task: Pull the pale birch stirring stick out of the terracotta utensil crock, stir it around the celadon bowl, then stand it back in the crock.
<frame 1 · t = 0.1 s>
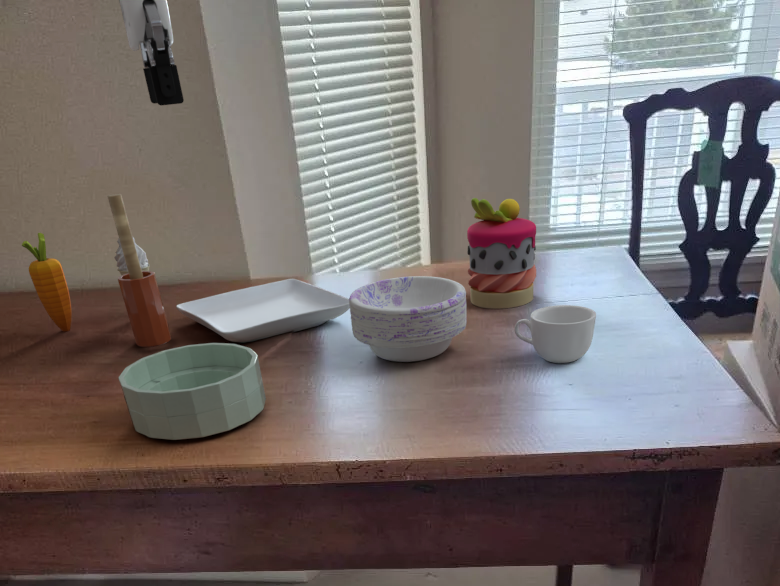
hand: (167, 103, 95), 30 cm above the table, tool pointing down, fingers open, 9 cm apart
stirring stick: (154, 340, 109), resting on utensil crock
utensil crock: (154, 344, 109), on the table
plate: (266, 324, 114), on the table
carrot: (67, 334, 118), on the table
ice cream cone: (147, 318, 122), on the table
cake: (501, 300, 115), on the table
teacup: (552, 357, 93), on the table
paper bowls: (411, 351, 99), on the table
mixing bowl: (201, 415, 85), on the table
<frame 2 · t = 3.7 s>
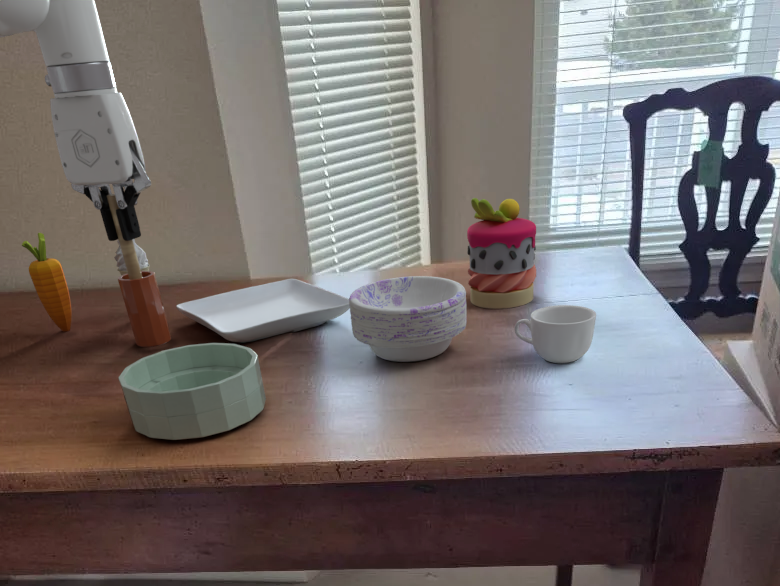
hand: (125, 237, 101), 15 cm above the table, tool pointing down, fingers closed on stirring stick, 1 cm apart
stirring stick: (152, 340, 109), point 1 cm above the table, touching gripper
everything else where it was.
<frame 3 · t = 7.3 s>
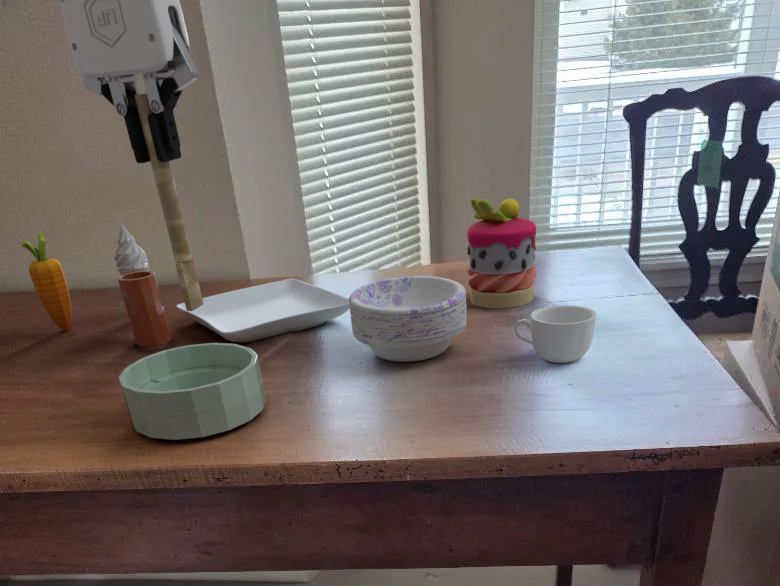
hand: (159, 159, 71), 27 cm above the table, tool pointing down, fingers closed on stirring stick
stirring stick: (195, 307, 79), point 12 cm above the table, touching gripper
everything else where it was.
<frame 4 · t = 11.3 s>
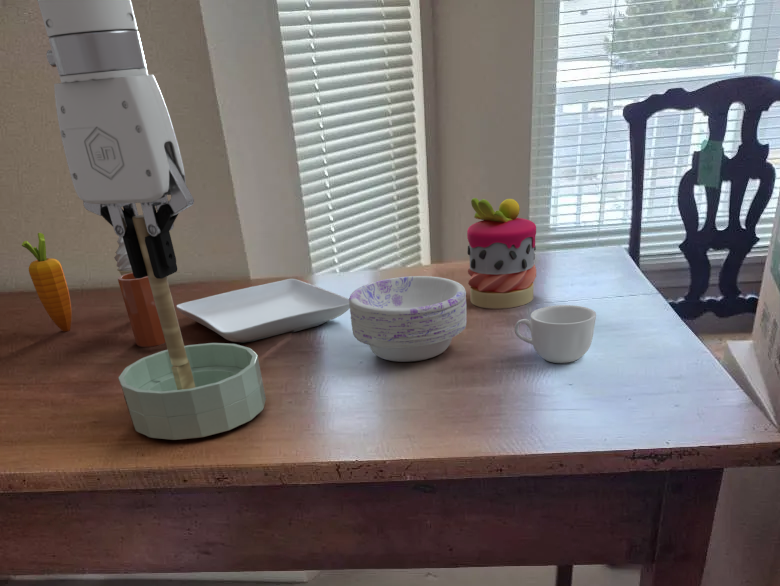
hand: (156, 273, 74), 17 cm above the table, tool pointing down, fingers closed on stirring stick, 1 cm apart
stirring stick: (191, 405, 83), point 2 cm above the table, touching gripper
everything else where it was.
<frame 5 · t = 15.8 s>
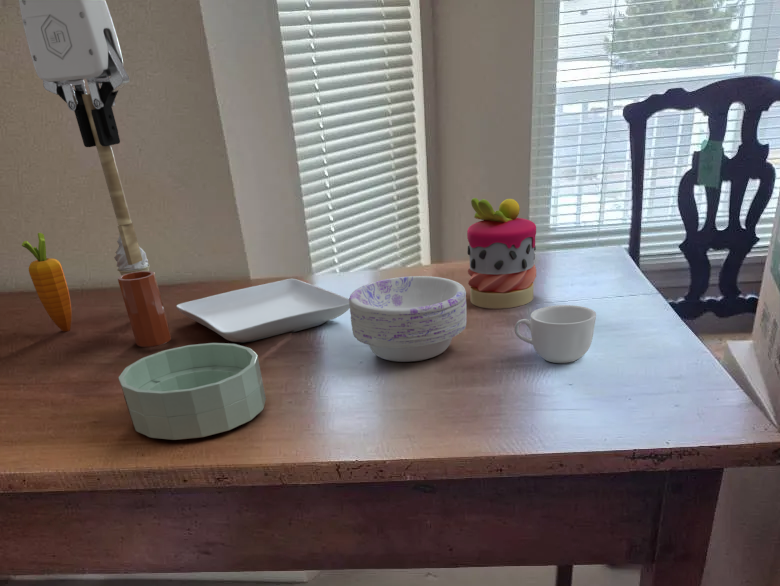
hand: (102, 144, 93), 27 cm above the table, tool pointing down, fingers closed on stirring stick
stirring stick: (135, 262, 101), point 12 cm above the table, touching gripper
everything else where it was.
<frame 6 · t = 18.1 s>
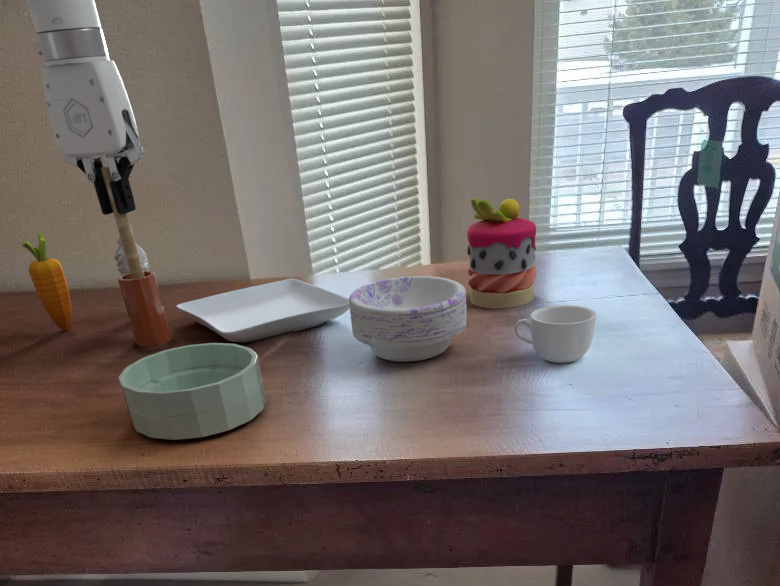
hand: (119, 211, 99), 18 cm above the table, tool pointing down, fingers closed on stirring stick
stirring stick: (149, 317, 107), point 4 cm above the table, touching gripper
everything else where it was.
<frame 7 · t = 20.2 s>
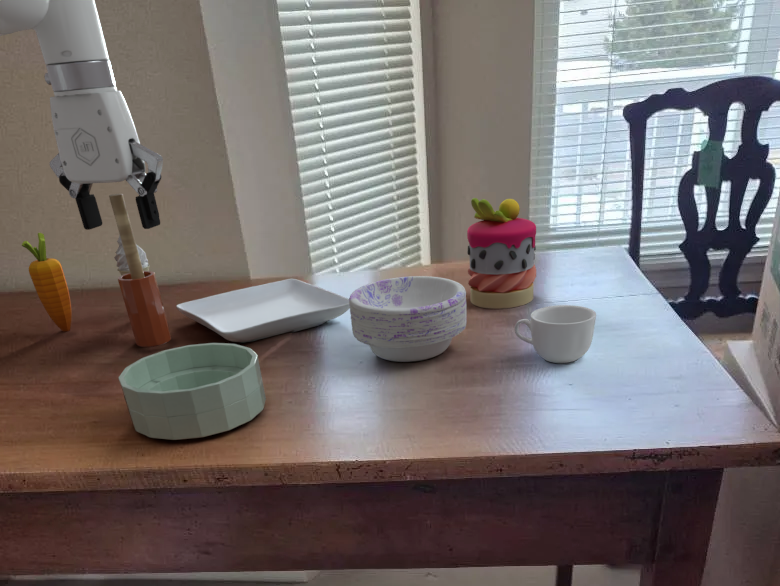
hand: (122, 227, 100), 16 cm above the table, tool pointing down, fingers open, 9 cm apart
stirring stick: (155, 340, 109), resting on utensil crock
everything else where it was.
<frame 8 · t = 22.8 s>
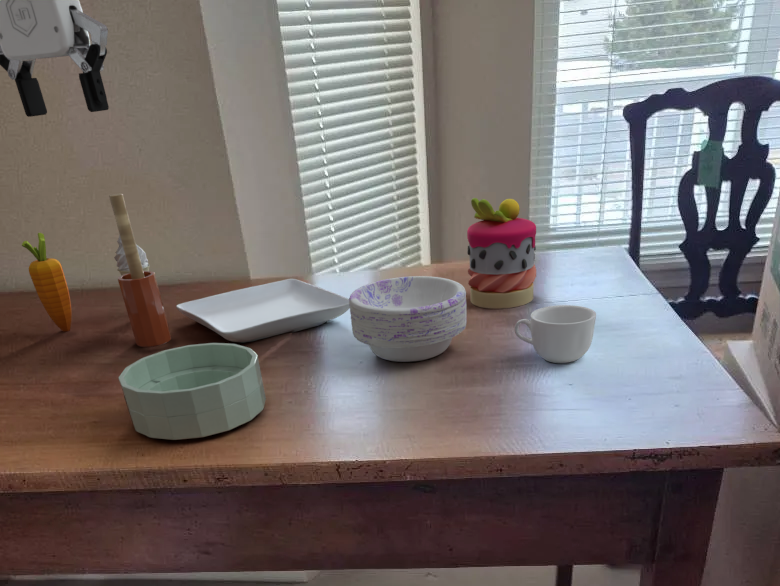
hand: (67, 113, 92), 30 cm above the table, tool pointing down, fingers open, 9 cm apart
nothing on the table moved.
at the end: stirring stick 0.3 cm off-centre in the utensil crock, point 0.5 cm above the utensil crock's base; stirring stick touching utensil crock; stirring stick tilted 0° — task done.
